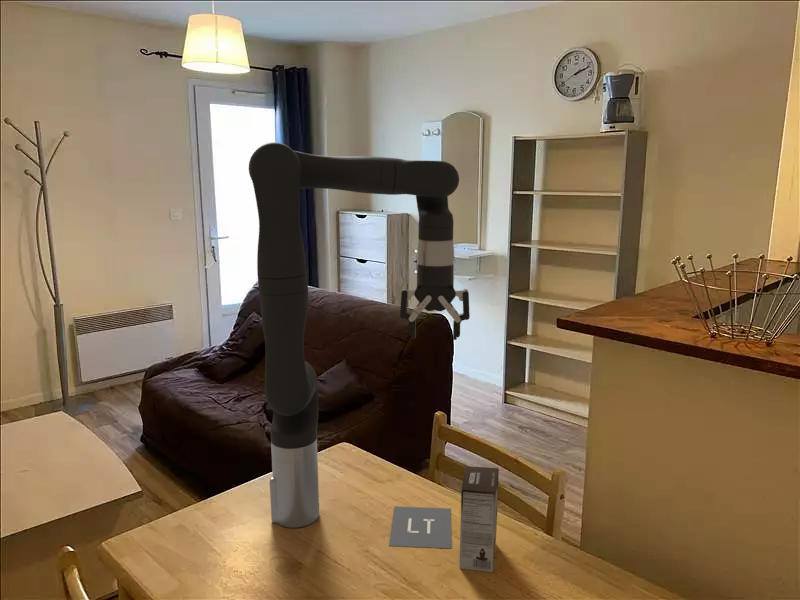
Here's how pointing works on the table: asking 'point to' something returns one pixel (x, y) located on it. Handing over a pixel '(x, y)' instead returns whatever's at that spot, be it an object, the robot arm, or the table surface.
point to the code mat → (421, 527)
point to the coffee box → (478, 518)
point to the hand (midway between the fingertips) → (434, 338)
